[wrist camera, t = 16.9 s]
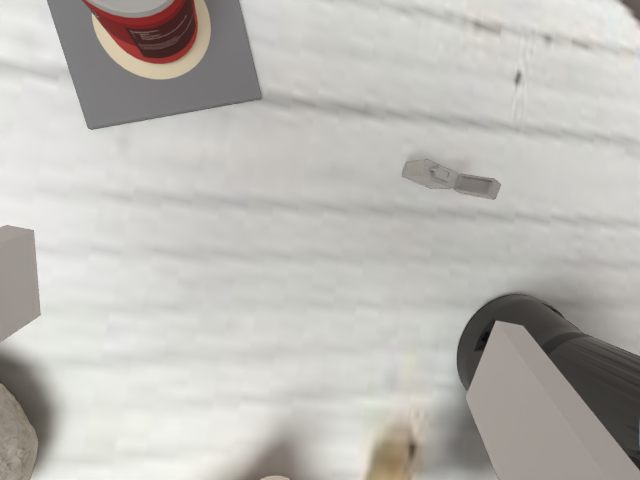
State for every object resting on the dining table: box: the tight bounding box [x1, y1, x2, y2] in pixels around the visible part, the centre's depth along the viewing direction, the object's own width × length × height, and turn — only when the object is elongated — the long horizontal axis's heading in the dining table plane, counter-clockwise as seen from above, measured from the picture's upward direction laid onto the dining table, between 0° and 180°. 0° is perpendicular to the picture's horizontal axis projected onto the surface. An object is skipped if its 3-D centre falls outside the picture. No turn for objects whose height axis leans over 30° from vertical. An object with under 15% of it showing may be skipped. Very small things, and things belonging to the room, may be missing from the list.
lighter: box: [402, 159, 501, 200], centre depth 40 cm, size 7×2×8 cm, turn 68°
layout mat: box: [47, 0, 261, 130], centre depth 35 cm, size 16×16×1 cm
